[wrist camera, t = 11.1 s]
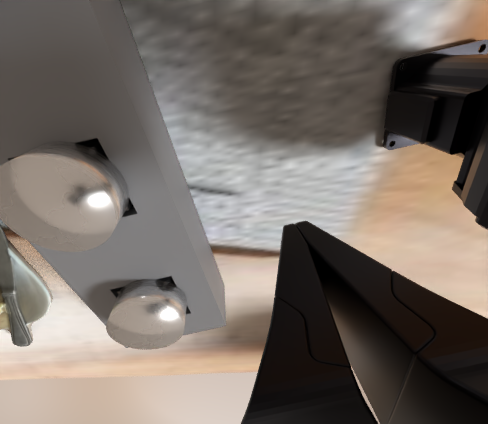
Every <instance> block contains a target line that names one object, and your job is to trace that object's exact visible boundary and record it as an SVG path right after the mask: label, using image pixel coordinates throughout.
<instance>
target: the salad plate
mask: <svg viewBox="0 0 488 424" xmlns="http://www.w3.org/2000/svg"><path fill="white" fill-rule="evenodd" d="M52 299H53V298H52V295H51V292H50V290H49V288H48V286H47V285H46V283H45V282H44V280H43V279H42V277H41V276H40V275H39V274H38V273H37V272H36V271H35V270H34V269H33V268H32V267H31V266H30V265H29V264H28V263H27V261H26V260H25V259H24V258H23V256H22V255H21V254H20V253H19V252H18V251H17V250H16V248H15V247H14V246H13V244H12V243H11V242H10V241H9V240H8V239H7V237H6V235H5V233H4V231H3V229H2V228H1V225H0V330H1V329H5V330H8V331H10V332H11V337H12V341H13V344H14V345H17V346H29V345H30V344H31V343H32V341H33V335H32V330H31V325H32V323H33V322H35V321H37V320H39V319H41V318H42V317H44V316H45V315H46V313H47V312H48V310H49V308H50V305H51V302H52Z"/></svg>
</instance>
